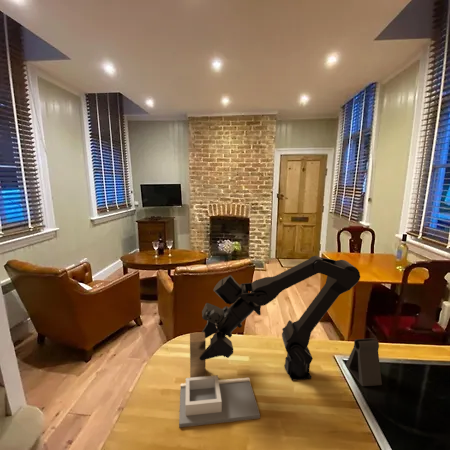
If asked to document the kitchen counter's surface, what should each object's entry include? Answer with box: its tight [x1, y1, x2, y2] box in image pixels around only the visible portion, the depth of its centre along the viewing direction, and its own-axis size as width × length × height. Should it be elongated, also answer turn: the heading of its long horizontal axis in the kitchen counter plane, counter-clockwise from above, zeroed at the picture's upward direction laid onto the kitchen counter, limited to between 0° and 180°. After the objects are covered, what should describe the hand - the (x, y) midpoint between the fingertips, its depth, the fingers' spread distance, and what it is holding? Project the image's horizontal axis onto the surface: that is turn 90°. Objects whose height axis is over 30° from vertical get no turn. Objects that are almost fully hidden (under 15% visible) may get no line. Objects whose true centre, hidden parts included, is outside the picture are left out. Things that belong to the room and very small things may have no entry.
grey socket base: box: [178, 374, 261, 428], centre depth 69 cm, size 20×12×4 cm, turn 98°
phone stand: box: [345, 337, 383, 387], centre depth 79 cm, size 9×6×12 cm, turn 5°
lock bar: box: [189, 331, 207, 378], centre depth 79 cm, size 4×4×12 cm
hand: (199, 348), depth 78 cm, fingers open, 9 cm apart
